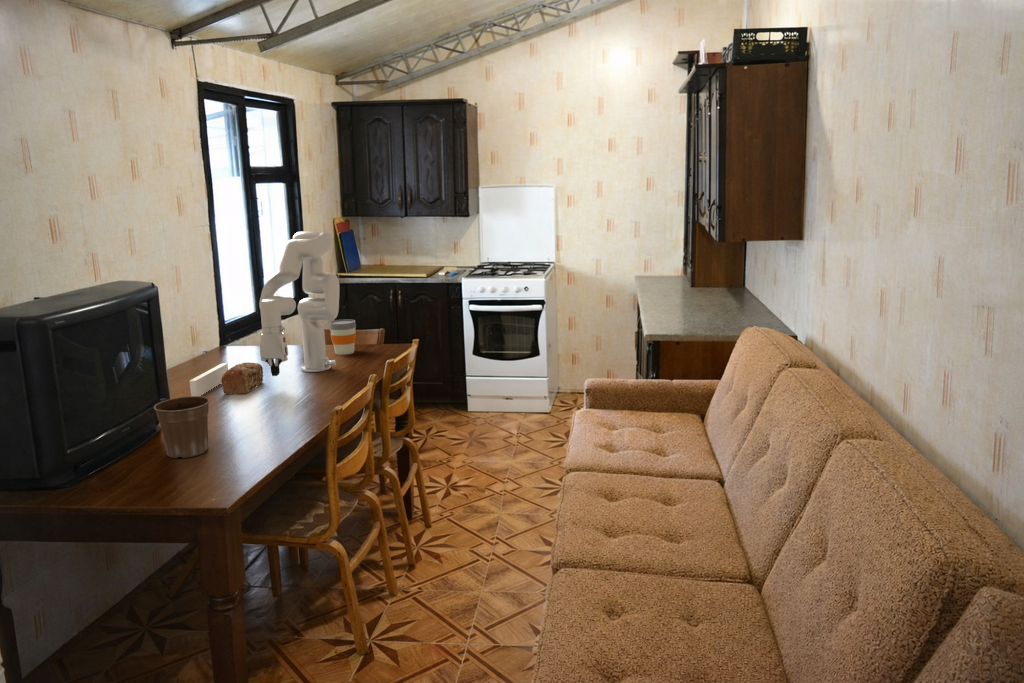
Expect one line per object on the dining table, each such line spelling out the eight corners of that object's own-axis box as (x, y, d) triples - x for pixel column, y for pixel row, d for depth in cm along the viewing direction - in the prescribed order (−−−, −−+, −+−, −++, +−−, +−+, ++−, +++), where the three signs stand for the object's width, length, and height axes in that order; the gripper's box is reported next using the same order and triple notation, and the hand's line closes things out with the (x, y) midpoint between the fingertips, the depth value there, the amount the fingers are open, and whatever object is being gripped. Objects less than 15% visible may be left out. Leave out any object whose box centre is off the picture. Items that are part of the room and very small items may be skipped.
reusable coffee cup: (326, 354, 384) (324, 323, 381) (339, 349, 396) (337, 318, 393) (350, 356, 380) (348, 324, 377) (362, 350, 392) (360, 319, 389)
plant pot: (149, 454, 254) (143, 405, 250) (196, 440, 266) (191, 393, 263) (177, 465, 244) (171, 413, 240) (225, 449, 256) (220, 400, 253)
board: (229, 379, 343) (227, 363, 342) (197, 398, 316) (195, 380, 314) (223, 379, 343) (221, 363, 342) (191, 398, 316) (189, 380, 315)
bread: (247, 395, 319) (244, 370, 317) (221, 395, 320) (218, 370, 318) (265, 382, 337) (263, 359, 335) (240, 382, 338) (238, 359, 336)
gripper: (293, 328, 324) (296, 373, 328) (257, 328, 326) (261, 373, 329) (286, 332, 317) (290, 377, 321) (250, 332, 319) (253, 377, 322)
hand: (275, 375), depth 325 cm, fingers closed
